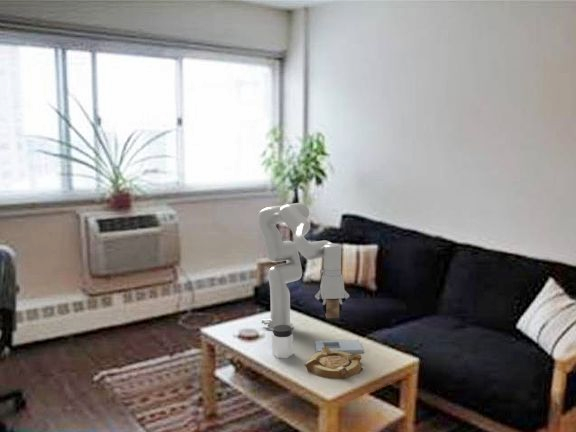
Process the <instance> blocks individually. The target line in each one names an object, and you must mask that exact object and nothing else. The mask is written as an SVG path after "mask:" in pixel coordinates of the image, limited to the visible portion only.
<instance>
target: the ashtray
mask: <svg viewBox="0 0 576 432" xmlns="http://www.w3.org/2000/svg"><path fill="white" fill-rule="evenodd" d="M362 358H363V357H362V355H361V354H359V353H346V352H342V351H330V350H329V349H328V347H325V346H324V347H322V352H318V353H317V352H316V353H314V354H313V355H312V356H311V357H310V358H309V359H308V361H307V362H305V363H304V367H305V368H306V371H307V372H308V373H312V374H314V375H316V376H318V377H321V378H325V379H331V380H336V379H337V380H339V379H340V380H342V379H348V378H350V377H354V376H357V375H358V374H359V373H360V372H361V370H363V367H362V363H361V360H362Z"/></svg>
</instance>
